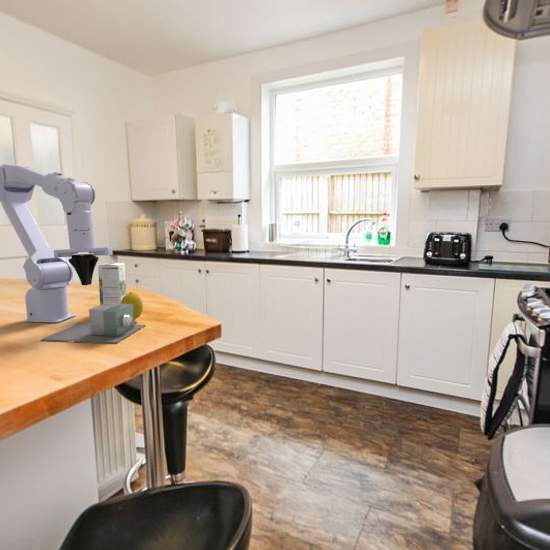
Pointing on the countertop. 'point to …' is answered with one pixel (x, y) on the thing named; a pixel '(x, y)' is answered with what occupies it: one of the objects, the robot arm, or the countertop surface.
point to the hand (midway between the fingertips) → (86, 284)
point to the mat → (86, 334)
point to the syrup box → (112, 283)
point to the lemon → (134, 300)
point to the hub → (98, 318)
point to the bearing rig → (118, 320)
